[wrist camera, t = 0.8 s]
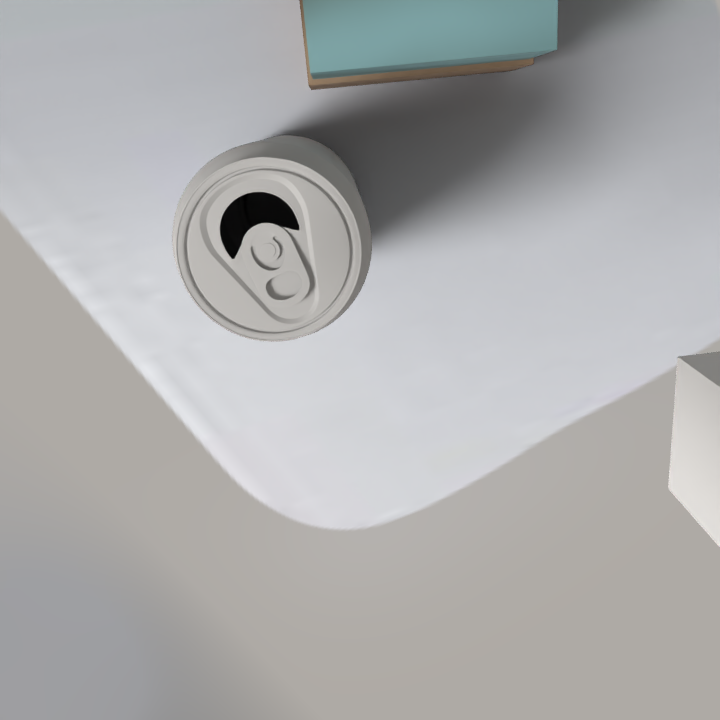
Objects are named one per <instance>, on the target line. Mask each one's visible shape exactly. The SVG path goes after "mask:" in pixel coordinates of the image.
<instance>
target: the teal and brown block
mask: <svg viewBox="0 0 720 720" xmlns="http://www.w3.org/2000/svg"><path fill="white" fill-rule="evenodd" d="M300 9H301V19H302V28H303V37H304V46H305V56H306V65H307V74H308V84H309V87H310V88H311V90H315V89H325V88H336V87H346V86H357V85H367V84H378V83H388V82H399V81H409V80H420V79H431V78H441V77H452V76H462V75H473V74H483V73H494V72H504V71H512V70H516V69H519V68H522V67H526V66H529V65H532V64H534V57H537V56H540V55H543V54H546V53H549V52H552V51H555V50H557V27H558V0H300Z"/></svg>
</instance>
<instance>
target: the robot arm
mask: <svg viewBox="0 0 720 720" xmlns="http://www.w3.org/2000/svg"><path fill="white" fill-rule="evenodd" d="M674 403H675V404H674V416H673V430H672V445H671V459H670V472H669V486H668V488H669V490H670V491H671V492H672V493H673V494H674V496H675V497H676V498H677V499H678V500H679V501H680V502H681V503H682V505H683V506H684V507H685V508H686V509H687V510H688V511H689V513H690V514H691V515H692V516H693V517H694V518H695V519H696V521H697V522H698V523H699V524H700V525H701V526H702V528H703V529H704V530H705V531H706V532H707V533H708V534H709V536H711V538H712V539H713V540H714V541H715V542H716V544H717V545H718V546H719V547H720V352H713V353H705V354H696V355H688V356H679V357H678V361H677V375H676V389H675V402H674Z"/></svg>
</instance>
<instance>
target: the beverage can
mask: <svg viewBox="0 0 720 720" xmlns="http://www.w3.org/2000/svg"><path fill="white" fill-rule="evenodd" d="M172 242H173V253H174V258H175V262H176V266H177V269H178V272H179V274H180V277H181V279H182V281H183V283H184V286H185V288H186V290H187V292H188V293H189V295H190V296H191V298H192V299H193V301H194V302H195V303H196V305H197V306H198V307H199V308H200V309H201V310H202V311H203V312H204V313H205V314H206V315H207V316H208V317H209V318H210V319H211V320H212V321H214V322H215V323H217V324H218V325H219V326H221V327H223V328H224V329H226V330H228V331H230V332H232V333H234V334H237V335H239V336H242V337H245V338H249V339H253V340H259V341H271V342H272V341H286V340H292V339H296V338H300V337H303V336H306V335H309V334H312V333H315V332H317V331H319V330H321V329H323V328H324V327H326V326H328V325H329V324H331V323H332V322H334V321H335V320H336V319H337V318H339V317H340V316H341V315H342V314H343V313H344V312H345V311H346V310H347V309H348V308H349V306H350V305H351V304H352V303H353V301H354V300H355V298H356V297H357V295H358V294H359V292H360V290H361V288H362V286H363V284H364V282H365V279H366V276H367V273H368V270H369V266H370V260H371V251H372V238H371V229H370V224H369V220H368V216H367V213H366V210H365V207H364V204H363V202H362V199H361V197H360V194H359V191H358V189H357V186H356V183H355V181H354V179H353V176H352V174H351V173H350V171H349V169H348V168H347V166H346V165H345V163H344V162H343V161H342V160H341V159H340V157H339V156H337V155H336V154H335V153H334V152H333V151H332V150H331V149H329V148H328V147H326V146H325V145H323V144H321V143H319V142H317V141H315V140H312V139H310V138H306V137H300V136H292V135H282V136H275V137H271V138H267V139H263V140H260V141H256V142H252V143H249V144H245V145H241V146H238V147H235V148H232V149H230V150H228V151H226V152H224V153H222V154H220V155H218V156H217V157H215V158H214V159H212V160H211V161H209V162H208V163H207V164H206V165H205V166H203V167H202V168H201V169H200V170H199V171H198V172H197V173H196V175H195V176H194V177H193V178H192V180H191V181H190V182H189V184H188V185H187V187H186V189H185V190H184V192H183V194H182V196H181V198H180V200H179V203H178V206H177V209H176V213H175V217H174V223H173V232H172Z"/></svg>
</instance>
